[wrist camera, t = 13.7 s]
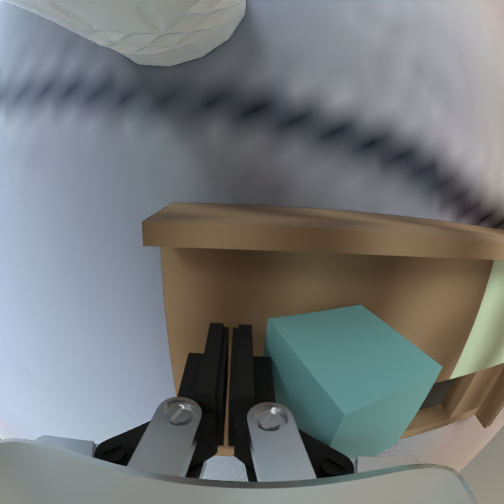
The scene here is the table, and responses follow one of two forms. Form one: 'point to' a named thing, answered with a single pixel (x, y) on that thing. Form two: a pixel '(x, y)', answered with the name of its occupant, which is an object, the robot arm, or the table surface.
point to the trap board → (341, 288)
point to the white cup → (146, 25)
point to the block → (348, 377)
